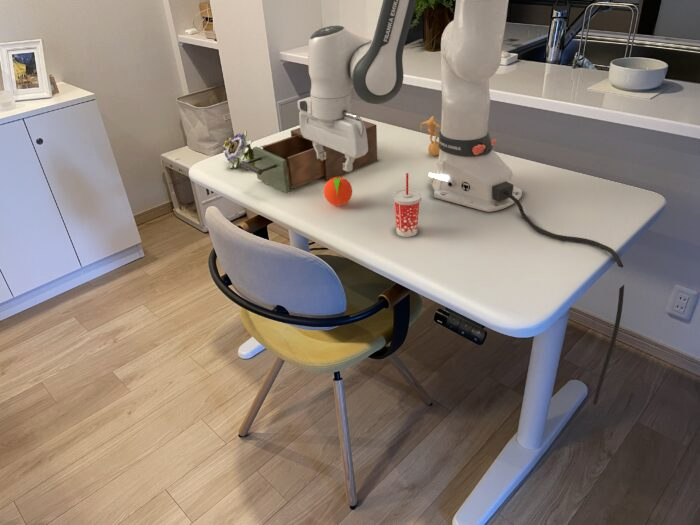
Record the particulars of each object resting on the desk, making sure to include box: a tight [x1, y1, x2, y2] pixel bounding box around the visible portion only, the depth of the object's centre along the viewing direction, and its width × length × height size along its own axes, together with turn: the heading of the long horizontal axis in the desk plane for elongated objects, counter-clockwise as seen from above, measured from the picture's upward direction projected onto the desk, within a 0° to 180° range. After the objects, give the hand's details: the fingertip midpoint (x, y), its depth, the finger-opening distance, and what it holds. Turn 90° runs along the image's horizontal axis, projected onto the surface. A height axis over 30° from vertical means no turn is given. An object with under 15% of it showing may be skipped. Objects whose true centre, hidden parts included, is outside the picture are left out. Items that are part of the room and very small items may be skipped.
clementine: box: [323, 176, 353, 207], centre depth 132 cm, size 8×7×7 cm
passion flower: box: [222, 129, 266, 169], centre depth 156 cm, size 11×11×12 cm
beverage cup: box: [392, 172, 422, 238], centre depth 118 cm, size 6×6×14 cm
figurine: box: [419, 115, 441, 157], centre depth 153 cm, size 8×6×12 cm
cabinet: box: [290, 120, 378, 182], centre depth 153 cm, size 19×15×11 cm
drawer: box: [240, 135, 325, 194], centre depth 144 cm, size 23×13×9 cm, turn 131°
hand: (334, 164), depth 128 cm, fingers open, 8 cm apart
